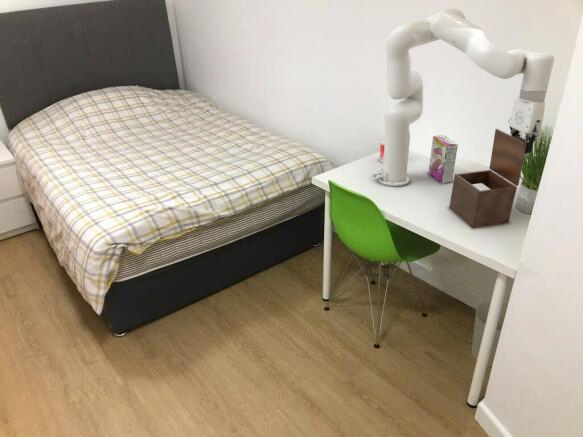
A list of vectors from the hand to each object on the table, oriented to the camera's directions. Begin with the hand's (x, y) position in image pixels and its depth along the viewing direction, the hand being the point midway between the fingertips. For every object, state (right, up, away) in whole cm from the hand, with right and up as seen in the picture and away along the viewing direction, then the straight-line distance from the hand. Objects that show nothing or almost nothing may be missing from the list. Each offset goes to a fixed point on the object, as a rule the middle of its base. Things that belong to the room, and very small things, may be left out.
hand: (519, 149), depth 153 cm
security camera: (-12, -21, +9) cm, 26 cm away
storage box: (-10, -22, +9) cm, 26 cm away
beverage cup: (-34, +3, +54) cm, 64 cm away
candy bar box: (-15, -6, +37) cm, 41 cm away
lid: (-5, -3, 0) cm, 5 cm away
